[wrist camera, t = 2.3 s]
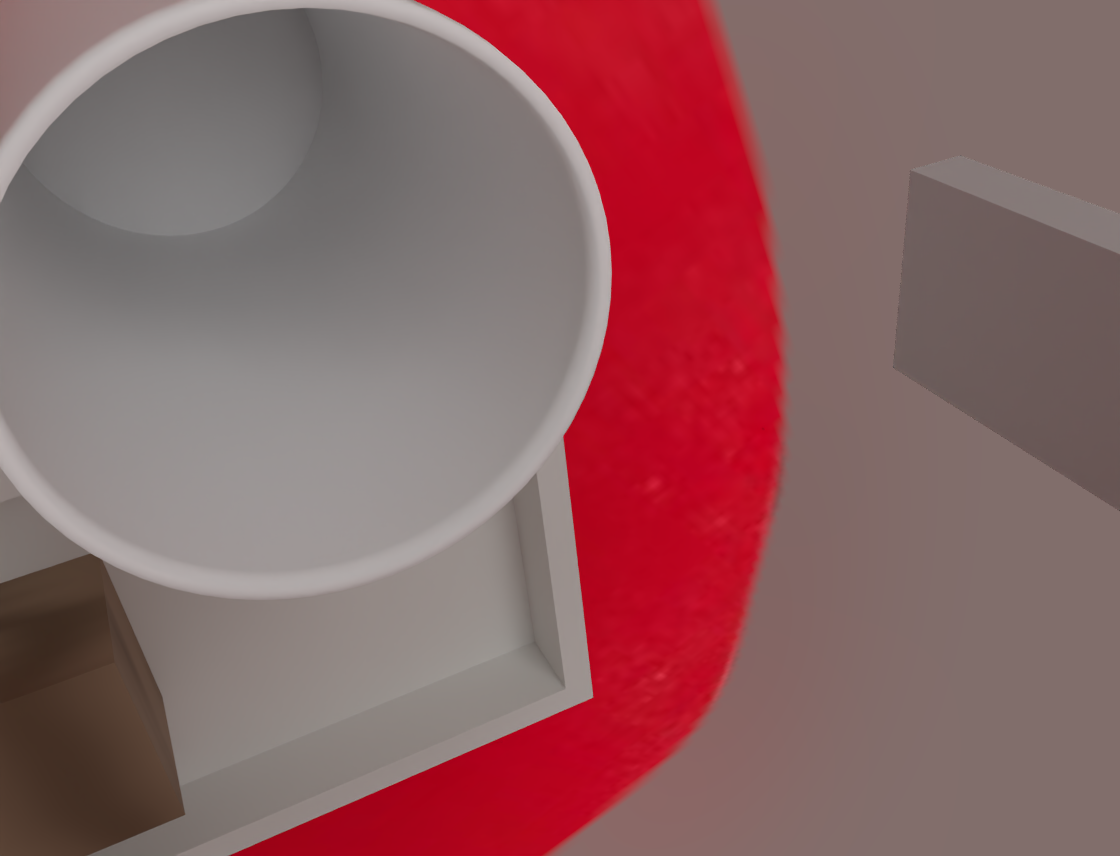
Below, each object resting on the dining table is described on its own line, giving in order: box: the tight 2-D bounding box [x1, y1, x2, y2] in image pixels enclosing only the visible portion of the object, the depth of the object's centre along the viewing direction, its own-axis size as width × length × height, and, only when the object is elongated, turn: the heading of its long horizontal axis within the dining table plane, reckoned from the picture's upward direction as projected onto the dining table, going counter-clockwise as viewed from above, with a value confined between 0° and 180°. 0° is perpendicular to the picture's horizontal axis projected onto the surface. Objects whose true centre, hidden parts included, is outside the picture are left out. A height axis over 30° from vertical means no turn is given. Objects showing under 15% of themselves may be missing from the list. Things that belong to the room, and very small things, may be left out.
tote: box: [0, 437, 593, 856], centre depth 32 cm, size 20×16×4 cm
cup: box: [0, 0, 612, 600], centre depth 19 cm, size 8×8×16 cm
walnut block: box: [0, 553, 185, 856], centre depth 29 cm, size 5×6×5 cm
